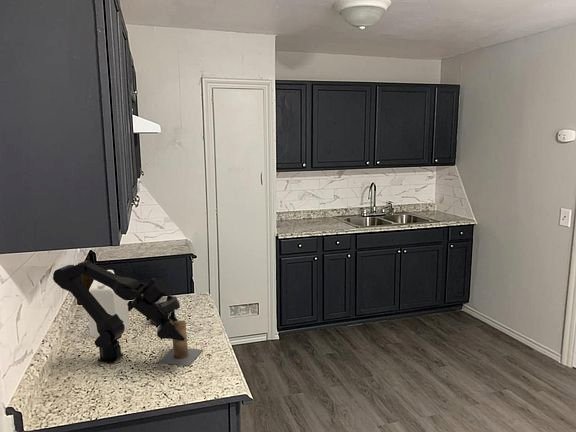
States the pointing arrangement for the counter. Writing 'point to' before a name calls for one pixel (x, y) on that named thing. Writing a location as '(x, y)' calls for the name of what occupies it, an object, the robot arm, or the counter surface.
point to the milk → (108, 304)
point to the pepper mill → (180, 346)
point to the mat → (185, 361)
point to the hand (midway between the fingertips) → (183, 334)
